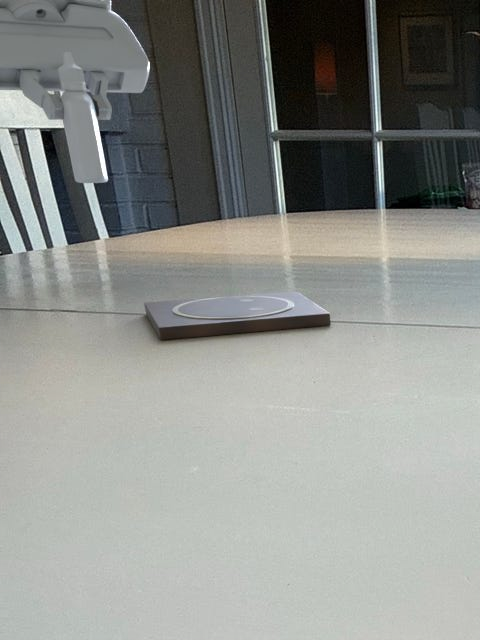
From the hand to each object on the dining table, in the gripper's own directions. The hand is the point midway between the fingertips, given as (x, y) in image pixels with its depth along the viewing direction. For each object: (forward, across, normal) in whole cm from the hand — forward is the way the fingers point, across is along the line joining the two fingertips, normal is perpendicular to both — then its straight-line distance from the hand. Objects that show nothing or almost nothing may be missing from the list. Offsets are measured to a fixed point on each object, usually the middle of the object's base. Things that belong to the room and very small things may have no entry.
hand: (81, 115), depth 96 cm
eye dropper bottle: (+4, 0, +5) cm, 7 cm away
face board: (+36, -4, -14) cm, 39 cm away
